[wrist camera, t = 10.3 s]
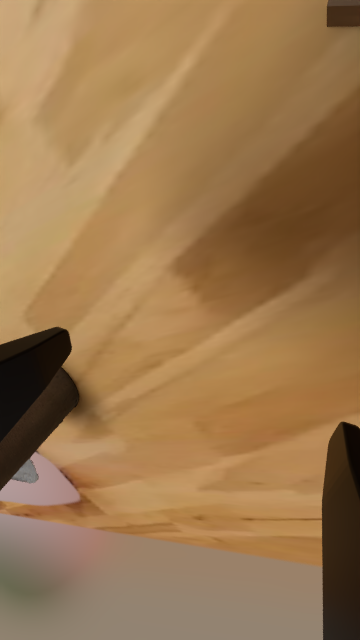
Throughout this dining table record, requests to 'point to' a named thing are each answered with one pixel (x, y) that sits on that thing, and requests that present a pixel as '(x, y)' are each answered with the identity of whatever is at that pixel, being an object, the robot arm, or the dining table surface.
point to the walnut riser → (343, 13)
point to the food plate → (26, 473)
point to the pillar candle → (37, 425)
